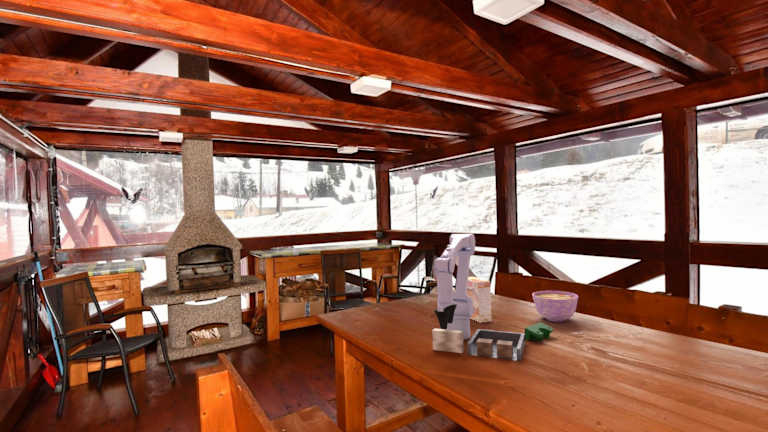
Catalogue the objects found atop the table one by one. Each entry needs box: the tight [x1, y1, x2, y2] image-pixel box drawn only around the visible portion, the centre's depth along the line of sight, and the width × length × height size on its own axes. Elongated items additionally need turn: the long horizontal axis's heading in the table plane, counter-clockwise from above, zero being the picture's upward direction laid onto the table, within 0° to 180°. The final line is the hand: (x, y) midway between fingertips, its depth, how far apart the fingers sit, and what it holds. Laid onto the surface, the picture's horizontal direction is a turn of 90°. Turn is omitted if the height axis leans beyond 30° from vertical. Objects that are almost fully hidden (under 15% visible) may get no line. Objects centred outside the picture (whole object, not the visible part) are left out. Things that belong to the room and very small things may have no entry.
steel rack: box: [467, 328, 526, 362], centre depth 139 cm, size 18×18×5 cm
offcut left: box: [477, 338, 493, 356], centre depth 135 cm, size 5×4×4 cm
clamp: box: [523, 321, 554, 342], centre depth 149 cm, size 12×6×9 cm, turn 121°
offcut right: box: [497, 340, 513, 358], centre depth 132 cm, size 5×4×4 cm
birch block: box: [431, 328, 465, 354], centre depth 140 cm, size 11×2×8 cm, turn 64°
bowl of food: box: [531, 290, 579, 323], centre depth 177 cm, size 20×20×12 cm
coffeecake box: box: [462, 276, 492, 324], centre depth 184 cm, size 15×7×20 cm, turn 17°
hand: (446, 326), depth 140 cm, fingers open, 7 cm apart
